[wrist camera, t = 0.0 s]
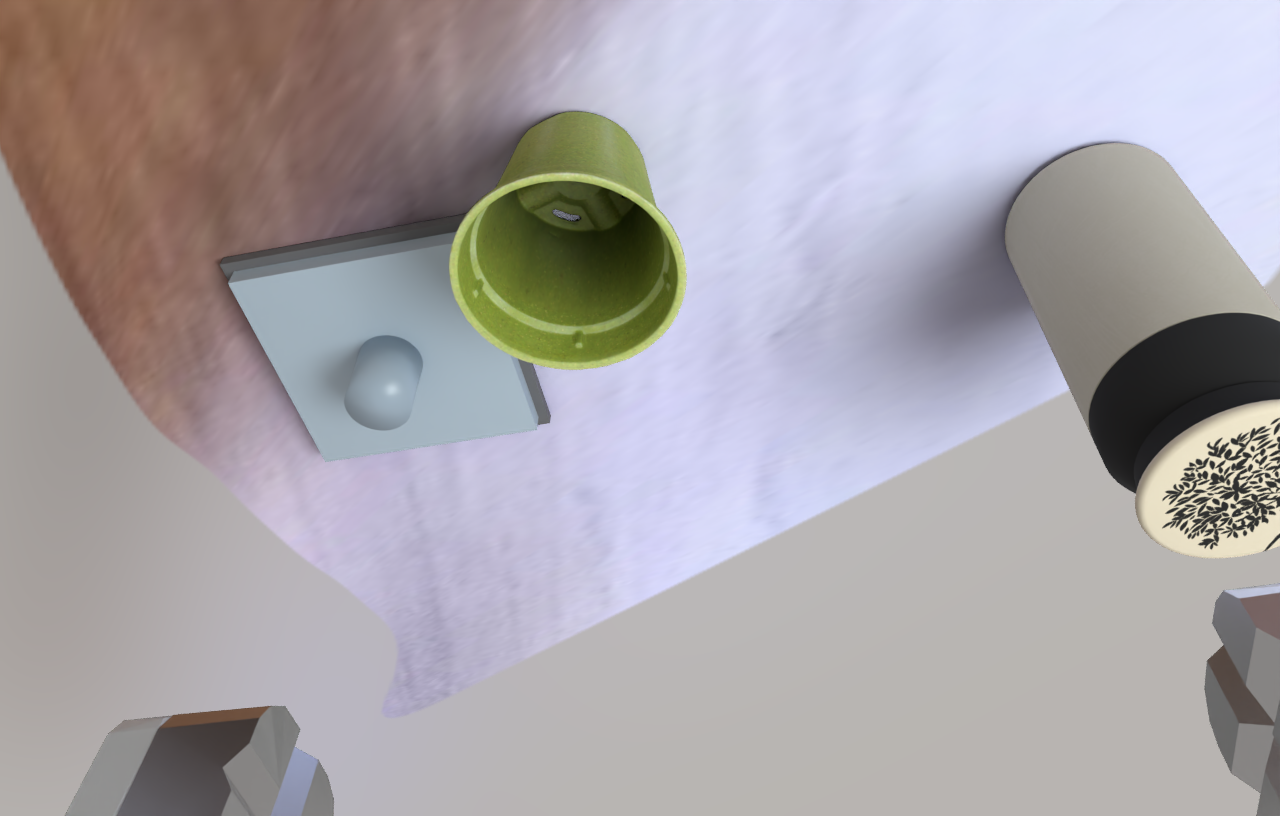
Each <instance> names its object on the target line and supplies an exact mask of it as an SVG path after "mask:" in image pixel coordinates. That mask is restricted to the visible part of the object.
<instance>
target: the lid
mask: <svg viewBox="0 0 1280 816" xmlns="http://www.w3.org/2000/svg"><path fill="white" fill-rule="evenodd" d="M455 234H456V232H452V233H446V234H441V235H435V236H429V237H424V238H418V239H413V240H407V241H402V242H396V243H390V244H385V245H379V246H374V247H368V248H363V249H357V250H351V251H346V252H340V253H335V254H329V255H323V256H318V257H312V258H307V259H301V260H296V261H290V262H284V263H279V264H273V265H268V266H262V267H257V268H251V269H245V270H240V271H234V272H233V274H232V276H231V278H230V280H229V282H228V284H229V286H230V288H231V290H232V292H233V294H234V295H235V297H236V299H237V301H238V303H239V305H240V306H241V308H242V310H243V312H244V314H245V316H246V317H247V319H248V321H249V323H250V325H251V327H252V328H253V330H254V332H255V334H256V336H257V338H258V339H259V341H260V343H261V345H262V347H263V349H264V350H265V352H266V354H267V356H268V358H269V360H270V361H271V363H272V365H273V367H274V369H275V371H276V372H277V374H278V376H279V378H280V380H281V382H282V383H283V385H284V387H285V389H286V391H287V393H288V394H289V396H290V398H291V400H292V402H293V404H294V405H295V407H296V409H297V411H298V413H299V415H300V416H301V418H302V420H303V422H304V424H305V426H306V427H307V429H308V431H309V433H310V435H311V437H312V438H313V440H314V442H315V444H316V446H317V448H318V449H319V451H320V453H321V455H322V457H323V459H324V460H325V462H329V461H335V460H342V459H349V458H355V457H362V456H368V455H375V454H382V453H388V452H395V451H401V450H408V449H415V448H421V447H428V446H434V445H441V444H448V443H454V442H461V441H467V440H474V439H481V438H487V437H494V436H500V435H507V434H513V433H520V432H527V431H533V430H537V427H538V418H539V417H538V415H537V412H536V409H535V406H534V403H533V401H532V398H531V395H530V392H529V389H528V386H527V384H526V381H525V378H524V375H523V372H522V370H521V367H520V364H519V361H518V358H515V357H513V356H511V355H509V354H507V353H505V352H503V351H502V350H500V349H498V348H497V347H495V346H494V345H492V344H491V343H489V342H488V341H487V340H486V339H485V338H484V337H482V336H481V335H480V334H479V333H478V332H477V331H476V330H475V329H474V328H473V327H472V325H471V324H470V323H469V322H468V321H467V319H466V317H465V316H464V314H463V313H462V311H461V309H460V307H459V305H458V304H457V302H456V300H455V298H454V294H453V291H452V287H451V283H450V275H449V257H450V251H451V247H452V243H453V240H454V237H455Z"/></svg>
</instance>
